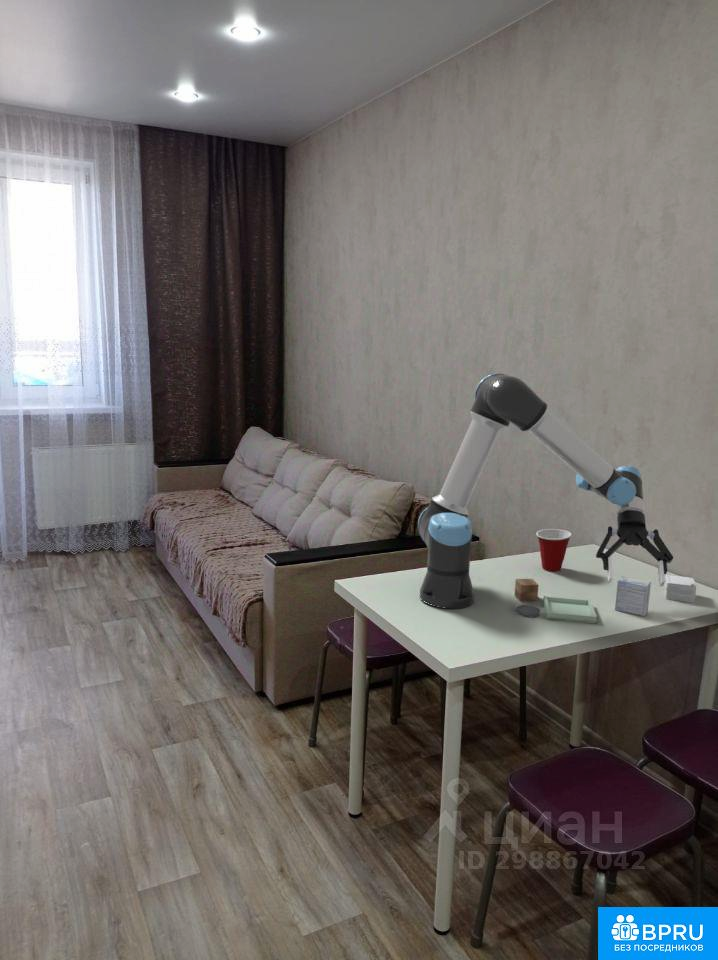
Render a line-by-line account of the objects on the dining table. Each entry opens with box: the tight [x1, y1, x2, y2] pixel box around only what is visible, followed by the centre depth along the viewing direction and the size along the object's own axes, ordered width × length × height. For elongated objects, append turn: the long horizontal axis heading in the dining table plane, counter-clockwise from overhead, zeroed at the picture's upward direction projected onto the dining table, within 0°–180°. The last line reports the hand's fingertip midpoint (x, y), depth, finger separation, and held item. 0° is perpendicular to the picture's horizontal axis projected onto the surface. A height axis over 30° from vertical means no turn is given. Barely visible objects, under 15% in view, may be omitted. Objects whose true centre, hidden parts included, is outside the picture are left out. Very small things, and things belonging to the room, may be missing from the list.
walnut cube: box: [514, 578, 539, 603], centre depth 205 cm, size 5×5×5 cm
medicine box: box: [614, 576, 652, 617], centre depth 197 cm, size 8×4×9 cm, turn 57°
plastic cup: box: [535, 528, 572, 573], centre depth 231 cm, size 11×11×12 cm
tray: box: [542, 595, 598, 624], centre depth 196 cm, size 13×13×2 cm
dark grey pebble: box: [516, 604, 541, 618], centre depth 195 cm, size 6×6×2 cm
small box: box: [663, 574, 697, 603], centre depth 210 cm, size 8×8×5 cm
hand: (636, 582), depth 199 cm, fingers open, 13 cm apart
